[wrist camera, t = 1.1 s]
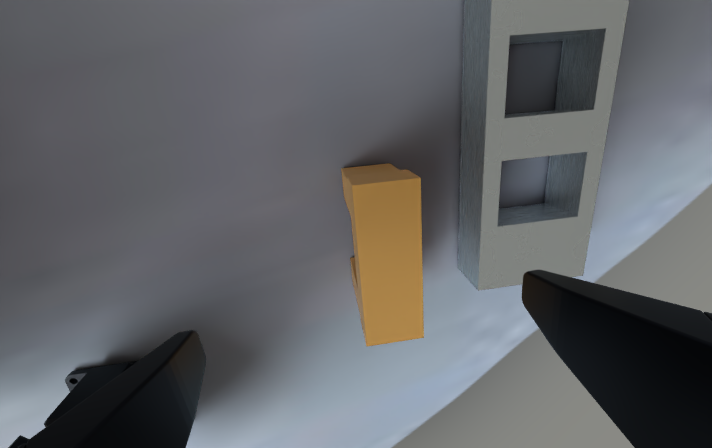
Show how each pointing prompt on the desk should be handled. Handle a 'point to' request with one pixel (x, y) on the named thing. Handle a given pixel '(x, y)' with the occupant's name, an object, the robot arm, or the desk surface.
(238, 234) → the desk surface
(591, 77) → the rail
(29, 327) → the desk surface
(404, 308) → the clip
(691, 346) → the robot arm
